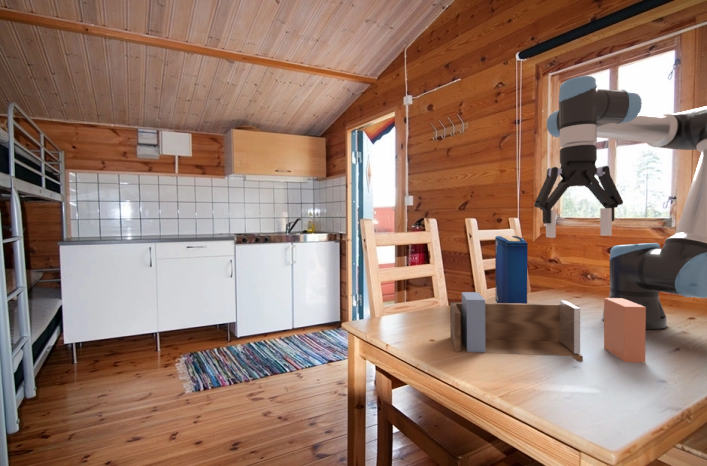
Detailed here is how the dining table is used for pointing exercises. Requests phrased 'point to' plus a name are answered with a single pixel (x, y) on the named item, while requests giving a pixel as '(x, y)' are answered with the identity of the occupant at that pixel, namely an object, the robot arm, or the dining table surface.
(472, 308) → the book
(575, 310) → the bookend
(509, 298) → the book
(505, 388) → the dining table surface
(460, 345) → the shelf
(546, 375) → the dining table surface
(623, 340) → the book
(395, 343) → the dining table surface
